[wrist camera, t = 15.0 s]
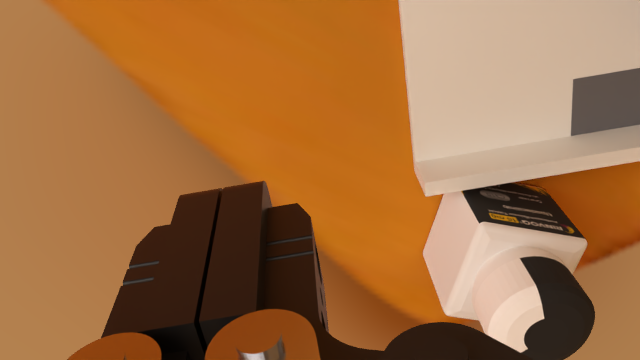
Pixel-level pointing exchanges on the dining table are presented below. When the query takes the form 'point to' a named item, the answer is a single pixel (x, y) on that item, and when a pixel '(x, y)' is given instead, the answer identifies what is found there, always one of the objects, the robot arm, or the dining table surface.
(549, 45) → the shallow white tray
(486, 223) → the medicine bottle
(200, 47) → the dining table surface
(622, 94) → the mat
